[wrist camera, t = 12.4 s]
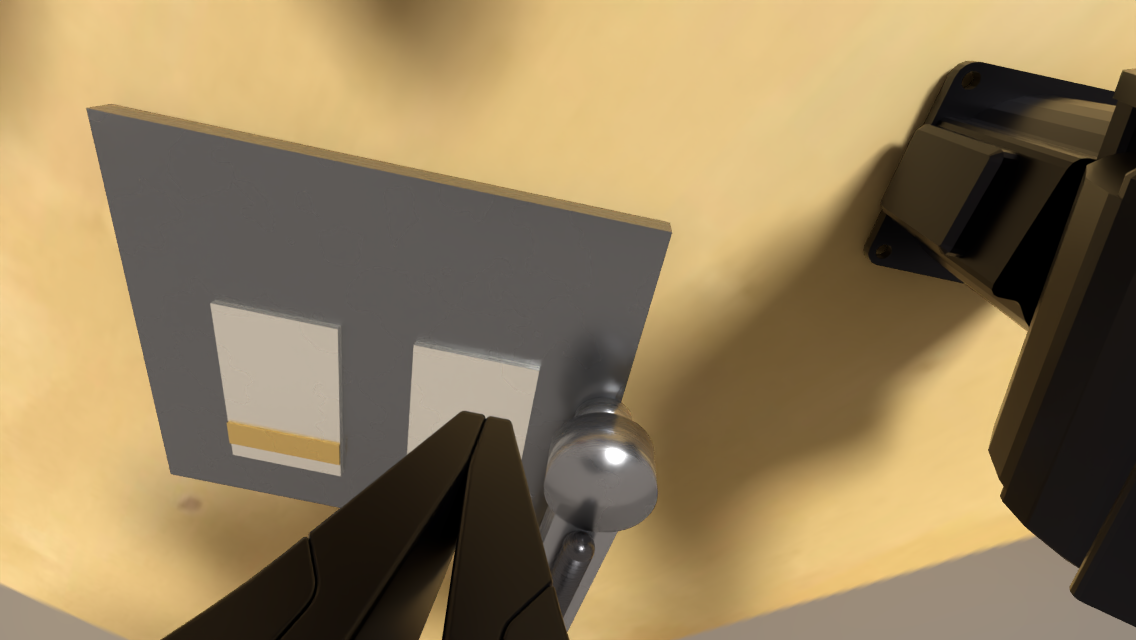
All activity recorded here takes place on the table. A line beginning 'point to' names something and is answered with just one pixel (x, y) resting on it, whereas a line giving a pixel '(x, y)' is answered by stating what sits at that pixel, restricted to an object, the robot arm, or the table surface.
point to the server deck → (359, 304)
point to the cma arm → (593, 498)
